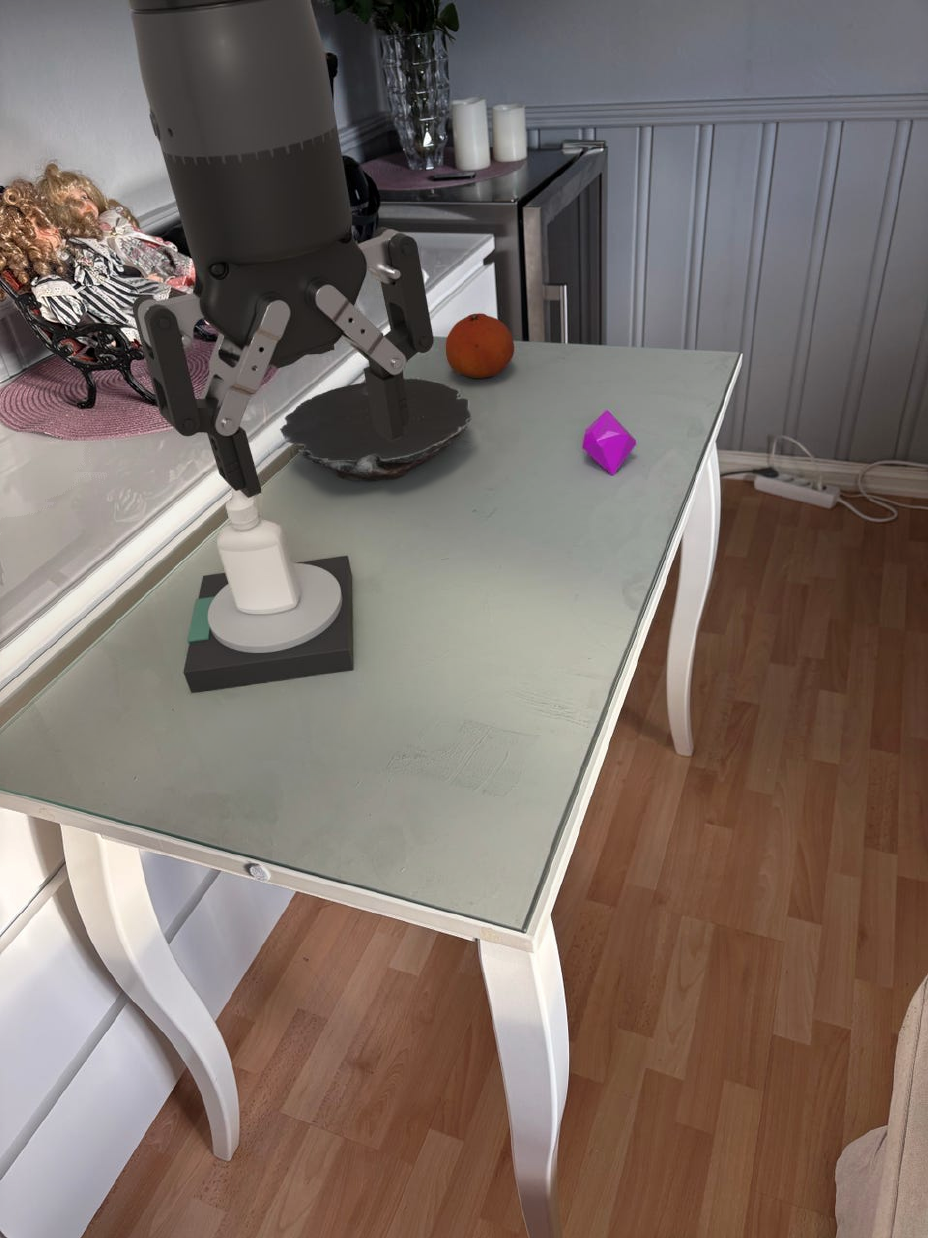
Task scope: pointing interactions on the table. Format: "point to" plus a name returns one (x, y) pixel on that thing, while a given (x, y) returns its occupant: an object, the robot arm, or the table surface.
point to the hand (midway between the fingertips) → (321, 461)
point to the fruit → (479, 346)
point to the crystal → (608, 442)
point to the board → (351, 443)
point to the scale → (272, 631)
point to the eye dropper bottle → (256, 560)
